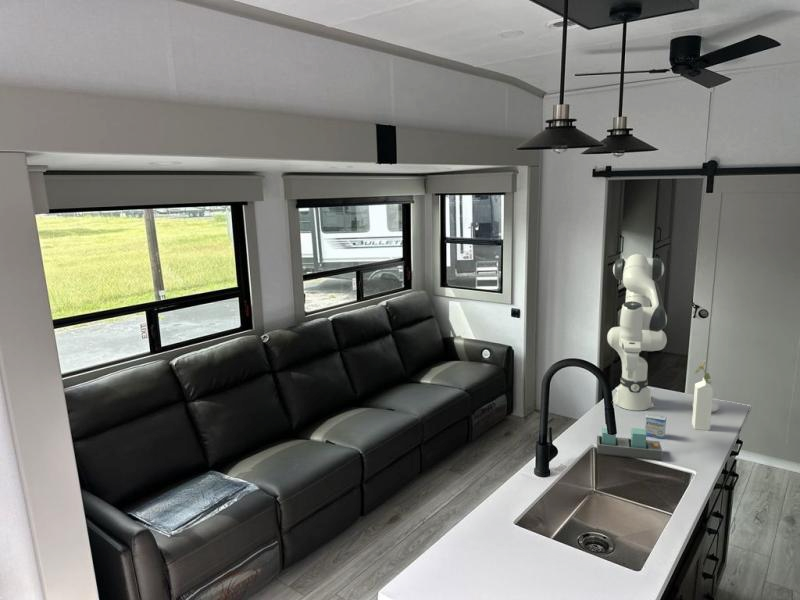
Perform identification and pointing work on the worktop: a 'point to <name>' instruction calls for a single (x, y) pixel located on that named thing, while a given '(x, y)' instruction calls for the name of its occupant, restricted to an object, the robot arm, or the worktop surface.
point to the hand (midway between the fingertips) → (629, 373)
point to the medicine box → (655, 426)
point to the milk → (702, 405)
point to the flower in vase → (707, 376)
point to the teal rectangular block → (608, 438)
